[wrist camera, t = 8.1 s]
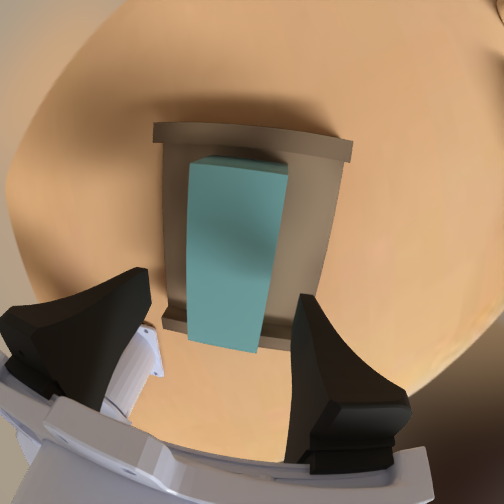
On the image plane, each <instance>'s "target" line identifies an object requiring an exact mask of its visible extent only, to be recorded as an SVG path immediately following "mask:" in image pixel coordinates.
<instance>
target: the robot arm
mask: <svg viewBox="0 0 504 504" xmlns="http://www.w3.org/2000/svg"><path fill="white" fill-rule="evenodd" d="M151 304H152V301H151V293H150V285H149V276H148V269H145V268H140V267H136V268H133V269H130V270H128V271H126V272H124V273H122V274H120V275H118V276H116V277H114V278H112V279H110V280H108V281H106V282H103V283H101V284H99V285H97V286H95V287H92V288H90V289H88V290H86V291H83V292H81V293H78V294H75V295H72V296H69V297H66V298H62V299H58V300H55V301H51V302H46V303H40V304H34V305H23V306H12V307H10V308H9V309H8V310H7V311H6V312H5V313H4V314H3V315H2V316H1V317H0V333H1V335H2V337H3V339H4V341H5V343H6V345H7V347H8V348H9V350H10V352H11V354H12V356H11V357H10V358H8V357H7V356H6V355H5V354H4V353H3V352H2V351H0V415H2V416H3V417H4V418H5V419H6V420H7V421H8V422H9V423H11V424H12V425H13V426H14V427H15V428H16V430H17V432H16V438H17V440H18V443H19V445H20V447H21V449H22V451H23V454H24V456H25V458H26V460H27V462H28V464H29V469H28V471H27V473H26V474H25V476H24V478H23V480H22V482H21V484H20V486H19V488H18V490H17V492H16V494H15V496H14V498H13V501H12V503H11V504H425V503H428V502H430V501H432V500H433V499H434V492H433V485H432V479H431V474H430V468H429V463H428V458H427V454H426V449H425V447H418V448H412V449H406V450H401V451H398V452H396V453H394V454H393V452H392V447H393V446H394V445H395V439H394V436H395V435H396V434H397V433H398V432H399V431H400V430H401V429H402V428H403V427H404V426H405V425H406V424H407V422H408V421H409V420H410V418H411V415H412V411H411V407H410V403H409V399H408V396H407V394H406V391H405V390H404V389H402V388H401V387H399V386H397V385H396V384H394V383H392V382H390V381H389V380H387V379H386V378H384V377H383V376H382V375H380V374H379V373H377V372H376V371H375V370H373V369H372V368H371V367H370V366H369V365H367V364H366V363H365V362H364V361H363V360H362V359H361V358H360V357H358V356H357V355H356V354H355V353H354V352H353V351H352V349H351V348H350V347H349V346H348V345H347V344H346V343H345V342H344V341H343V339H342V338H341V337H340V336H339V334H338V333H337V332H336V330H335V329H334V327H333V326H332V324H331V323H330V321H329V320H328V318H327V317H326V315H325V314H324V312H323V310H322V309H321V307H320V305H319V304H318V302H317V300H316V298H315V297H314V295H311V294H303V293H300V295H299V299H298V303H297V308H296V312H295V316H294V320H293V324H292V330H291V343H290V351H291V372H292V400H291V412H290V422H289V430H288V438H287V446H286V452H285V459H284V463H274V462H264V461H255V460H247V459H240V458H234V457H228V456H222V455H217V454H212V453H207V452H203V451H198V450H194V449H190V448H186V447H182V446H178V445H175V444H171V443H168V442H165V441H161V440H159V439H157V438H156V437H154V436H152V435H151V434H149V433H147V432H145V431H142V430H140V429H138V428H136V427H133V426H131V424H132V422H131V421H129V420H128V418H129V416H130V414H131V412H132V409H133V407H134V405H135V403H136V401H137V399H138V397H139V395H140V393H141V391H142V389H143V387H144V385H145V383H146V381H147V379H148V377H149V375H150V374H151V375H155V376H158V377H163V376H164V369H163V365H162V360H161V355H160V350H159V344H158V339H157V333H156V330H155V329H154V328H153V327H151V326H147V325H143V324H142V322H143V321H144V319H145V317H146V315H147V313H148V311H149V308H150V306H151Z"/></svg>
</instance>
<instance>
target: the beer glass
mask: <svg viewBox="0 0 504 504" xmlns="http://www.w3.org/2000/svg"><path fill="white" fill-rule="evenodd" d="M497 9H498V13H499V15H500V18H501V20H502V22H503V24H504V0H497Z"/></svg>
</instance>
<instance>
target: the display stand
mask: <svg viewBox="0 0 504 504" xmlns="http://www.w3.org/2000/svg"><path fill="white" fill-rule="evenodd" d="M153 143H164V144H163V237H164V257H165V273H166V285H167V297H168V307H167V309H166V310H165V312H164V314H163V315H162V317H161V318H162V325H163V329H167V330H171V331H175V332H180V333H184V334H188V327H187V291H186V245H187V207H188V186H189V169H190V163H192V162H194V161H197V160H199V159H202V158H205V157H207V156H210V155H223V156H232V157H241V158H249V159H256V160H264V161H271V162H277V163H284V164H288V180H287V187H286V193H285V199H284V205H283V211H282V217H281V223H280V229H279V235H278V241H277V247H276V252H275V258H274V264H273V269H272V275H271V280H270V286H269V291H268V297H267V302H266V307H265V313H264V318H263V323H262V328H261V333H260V338H259V344H258V347H261V348H268V349H276V350H283V351H290V343H291V330H292V324H293V320H294V316H295V312H296V308H297V303H298V299H299V295H300V293H303V294H311V295H314V297H315V295H316V291H317V288H318V284H319V280H320V276H321V272H322V268H323V264H324V260H325V255H326V251H327V247H328V242H329V238H330V233H331V229H332V224H333V219H334V214H335V210H336V204H337V199H338V194H339V189H340V183H341V178H342V172H343V166H344V162H349V163H350V160H351V154H352V147H353V141H350V140H345V139H341V138H336V137H330V136H325V135H319V134H314V133H307V132H301V131H294V130H287V129H279V128H271V127H262V126H251V125H239V124H224V123H200V122H157V123H154V127H153Z"/></svg>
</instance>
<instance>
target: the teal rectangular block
mask: <svg viewBox="0 0 504 504" xmlns="http://www.w3.org/2000/svg"><path fill="white" fill-rule="evenodd" d="M287 180H288V164H284V163H277V162H271V161H264V160H256V159H249V158H241V157H232V156H223V155H210V156H207V157H205V158H202V159H199V160H197V161H194V162H192V163H190V169H189V186H188V207H187V245H186V291H187V327H188V340H191V341H195V342H200V343H204V344H209V345H214V346H219V347H224V348H229V349H234V350H239V351H245V352H251V353H257V349H258V344H259V338H260V333H261V328H262V323H263V318H264V313H265V307H266V302H267V297H268V291H269V286H270V280H271V275H272V269H273V264H274V258H275V252H276V247H277V241H278V235H279V229H280V223H281V217H282V211H283V205H284V199H285V193H286V187H287Z"/></svg>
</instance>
